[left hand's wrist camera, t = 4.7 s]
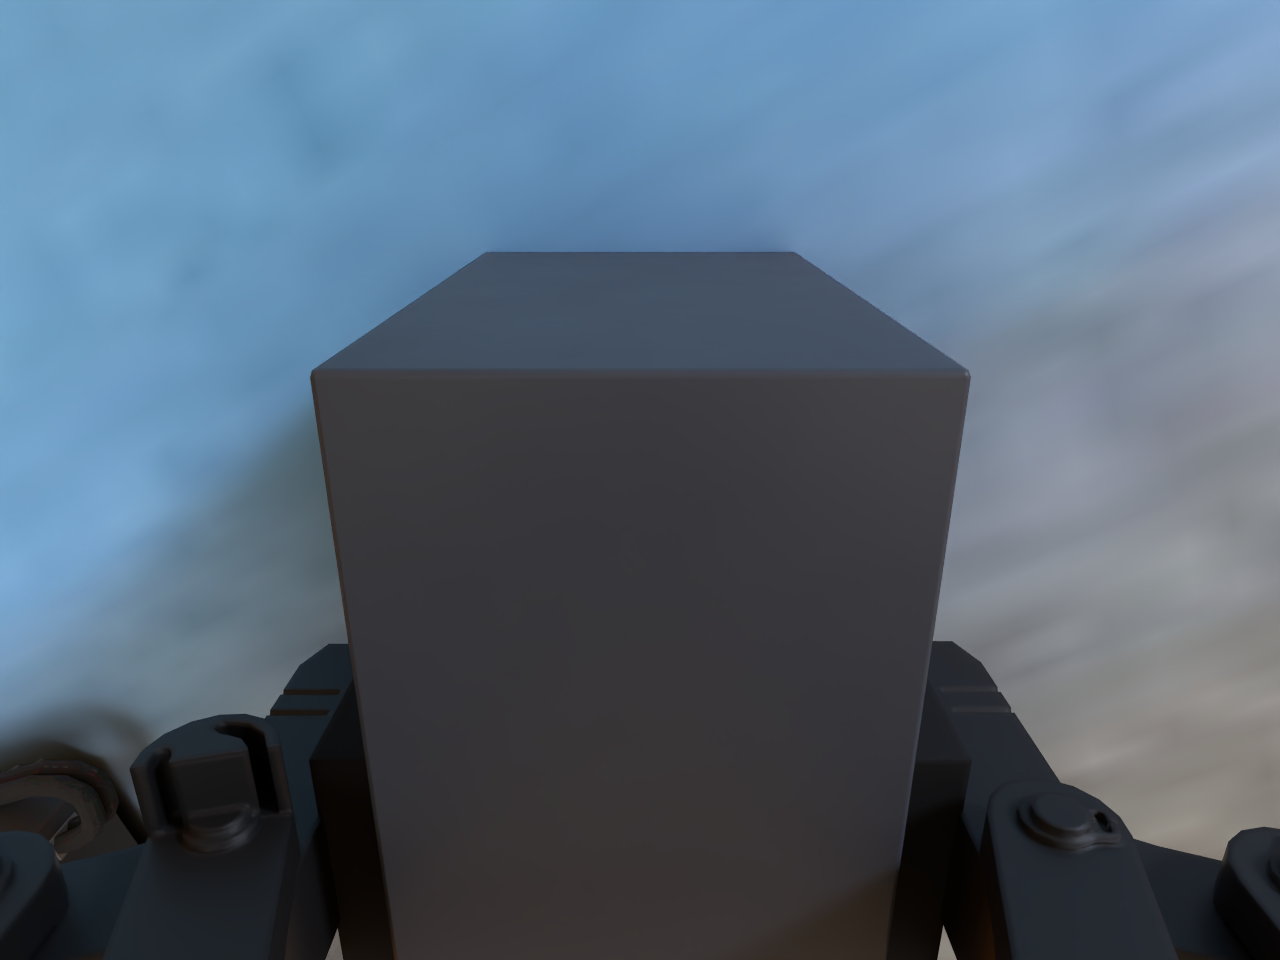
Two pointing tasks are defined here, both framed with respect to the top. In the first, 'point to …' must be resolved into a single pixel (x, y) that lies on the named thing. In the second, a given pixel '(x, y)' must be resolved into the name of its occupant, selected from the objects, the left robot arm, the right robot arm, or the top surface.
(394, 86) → the top surface
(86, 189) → the top surface
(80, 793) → the walkie-talkie
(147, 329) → the top surface
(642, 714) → the bar
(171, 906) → the left robot arm
